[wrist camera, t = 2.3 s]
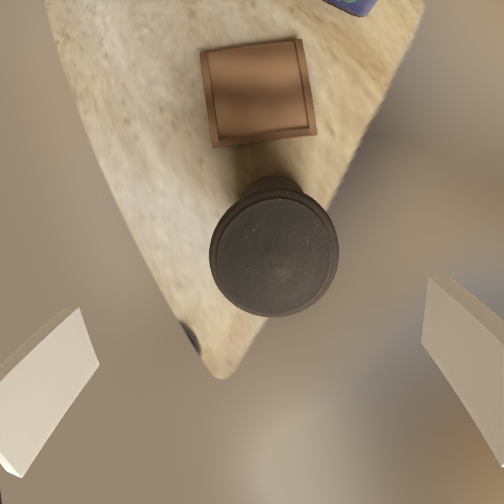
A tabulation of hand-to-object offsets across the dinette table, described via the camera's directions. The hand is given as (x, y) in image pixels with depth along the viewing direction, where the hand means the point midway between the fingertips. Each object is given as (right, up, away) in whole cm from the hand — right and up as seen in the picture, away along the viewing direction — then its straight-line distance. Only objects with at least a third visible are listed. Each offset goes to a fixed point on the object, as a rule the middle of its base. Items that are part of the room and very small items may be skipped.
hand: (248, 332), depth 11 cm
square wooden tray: (+1, +22, +24) cm, 32 cm away
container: (+3, +8, +28) cm, 30 cm away
